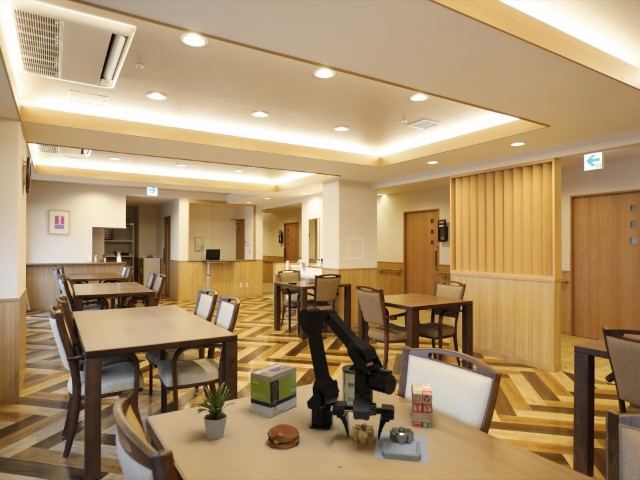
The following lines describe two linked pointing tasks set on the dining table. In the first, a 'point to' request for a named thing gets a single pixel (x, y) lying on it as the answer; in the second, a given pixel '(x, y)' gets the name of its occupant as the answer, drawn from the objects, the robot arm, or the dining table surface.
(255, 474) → the dining table surface
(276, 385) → the tea box
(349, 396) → the coffee can
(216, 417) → the house plant
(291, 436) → the burger
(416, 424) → the stack of blocks
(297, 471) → the dining table surface
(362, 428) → the brass gear
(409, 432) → the gear
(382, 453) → the gear board
